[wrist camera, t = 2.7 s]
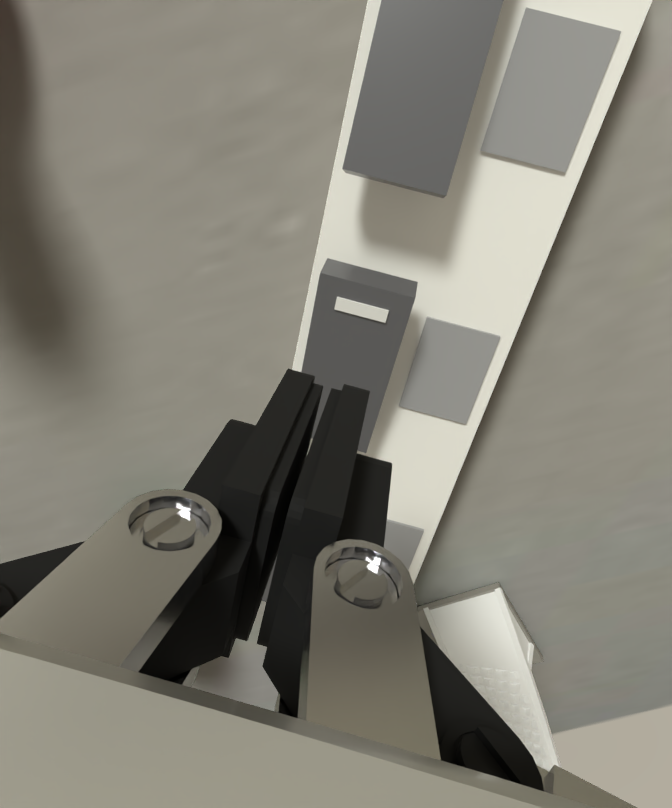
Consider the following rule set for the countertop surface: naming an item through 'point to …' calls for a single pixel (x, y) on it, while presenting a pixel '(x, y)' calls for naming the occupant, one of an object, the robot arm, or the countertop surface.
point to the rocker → (419, 91)
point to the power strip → (473, 236)
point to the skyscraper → (494, 660)
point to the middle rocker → (357, 334)
